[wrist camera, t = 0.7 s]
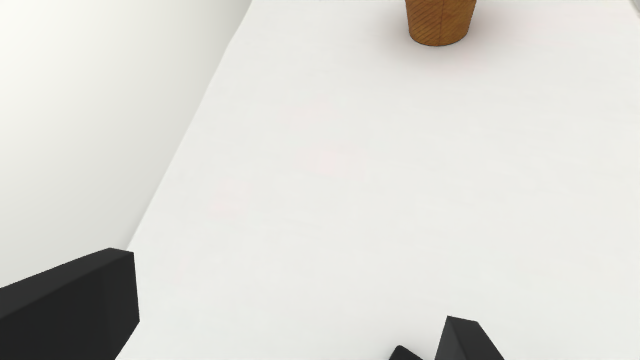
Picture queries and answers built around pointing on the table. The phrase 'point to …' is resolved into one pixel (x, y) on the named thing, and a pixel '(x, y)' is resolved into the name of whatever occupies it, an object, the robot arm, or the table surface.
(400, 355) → the handheld gaming console
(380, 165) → the table surface
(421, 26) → the disposable coffee cup
